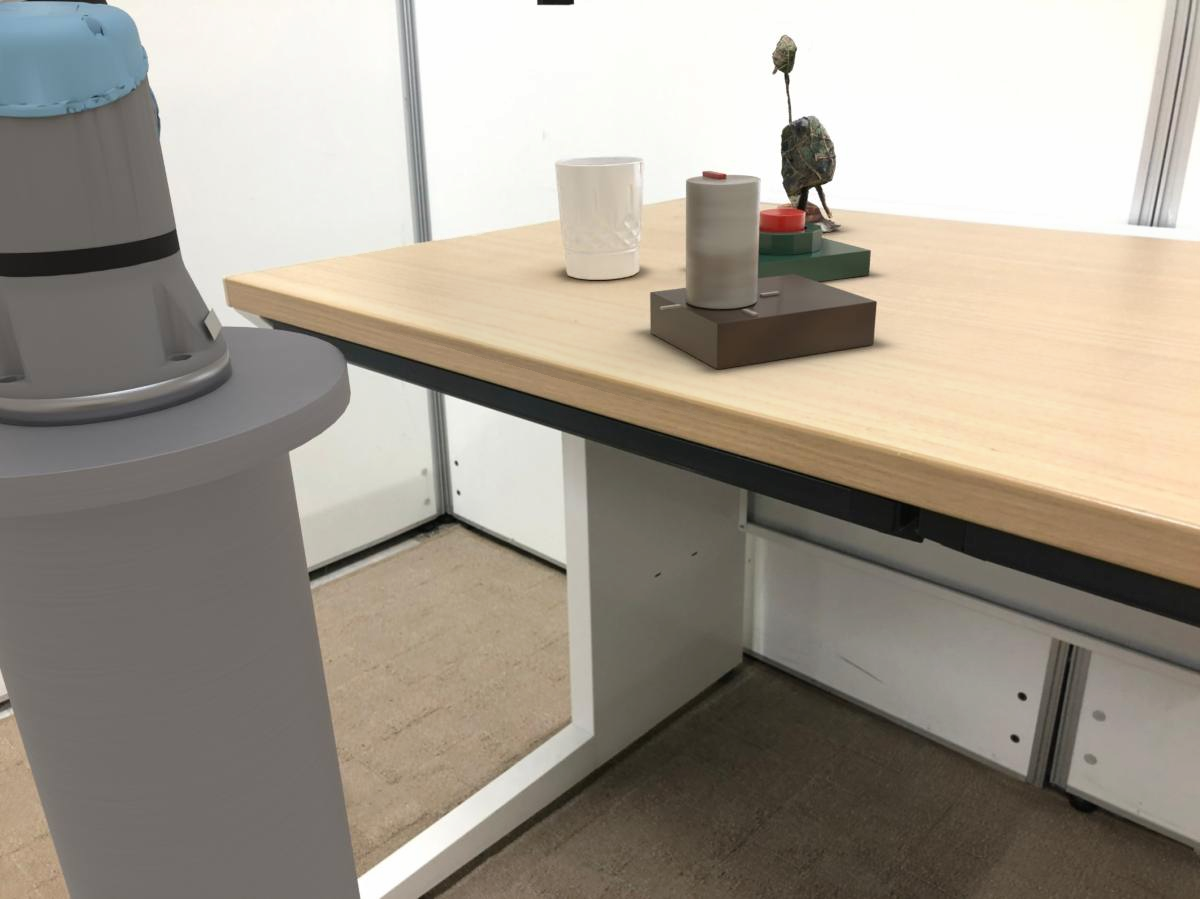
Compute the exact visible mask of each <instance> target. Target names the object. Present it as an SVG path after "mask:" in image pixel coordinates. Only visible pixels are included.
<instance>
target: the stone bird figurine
mask: <svg viewBox="0 0 1200 899" xmlns="http://www.w3.org/2000/svg"><path fill="white" fill-rule="evenodd" d="M797 51H798V47H797V45H796V43H795V41H794V39H792V37H790V36H788V35H787V34H783V35H781V36H780V38H779V41H778V42H776V47H775V49H774V50H773V52H772V54H771V55H772V56H771V59H772V63H773V65H774V68H773V70H772V73H771V74H772V75H774V76H775V75H776V74H777V72H778V71H779V72H781V73H783V75H784V76H783V78H784V84H785V92H786V93H785V94H786V97H787V106H788V107H787V110H788V111H787V112H788V124H787V125H785V126H784V127H783V128H782V130H781V134H780V139H781V141H780V154H781V155H780V156H781V171H780V175H781V177H782V181H781V182H782V183H781V184H782V188H783V189H784V192H785V194H786V196H787V198H788V200H789V202H790V203H789V202H788V203H783V204H781V205H777V207H776V209H798V210H802V211H805V222H806V223H812V224H816V225H820V226H821V228H822V234H823V233H825V232H832V231H835V230H838V228H840V227H841V226H842V225H841V224H839V223H836V222H835V221H832V218H833V216H834V215H833V211H832V210H831V209H830V207H829V206H828V204H827V202H826V200H827V199H826V194H825V192H824V189H823V187H822V186H824V185H827V184H828V183H831V182H832V181H833V179H834V176H835V171H836V167H837V154H836V152H835V144H834V142H833V141H832V139H831V137H830V135H829V133H828V130H827V129H826V128H825V127H824V124H822V122H821V121H820V119H819V118H818V117H816V116H815V115H808V116H805V115H804V116H801V118H798V119H795V120H793V119H792V104H791V102H792V101H791V97H790V96H791V95H790V83H791V80H790V75H789V74H790V73H792V71H793V70H794V66H795V62H796V53H797ZM812 188H814V189H815V191H816V192H817V195H818V198H819V202H821V206H822V207H823V210H824V212H825V214H826V216H827V217H828V218H826V217H825V216H824V215H823V214H822V210H821V209H820V207H819V206H818V205H817V204H814V203H813V202H811V201H809V200H808V199H809V195H810V194H809V193H810V190H812Z"/></svg>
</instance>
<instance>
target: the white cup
mask: <svg viewBox="0 0 1200 899" xmlns="http://www.w3.org/2000/svg"><path fill="white" fill-rule="evenodd" d="M644 164H645V160H644V159H643V157H637V156H628V155H623V156H622V155H599V156H598V155H597V156H582V157H570V158H564V159H559V160H556V161H554V171H555V181H556V182H555V183H556V192H557V204H558V214H559V215H558V216H559V226H560V231H561V242H562V246H563V247H564V249H563V250H564V260H565V271H566V275H567V276H569V277H570V278H571V277H572V278H575V279H580V280H589V281H590V280H592V281H593V280H594V281H595V280H596V281H597V280H598V281H599V280H600V281H602V280H616V279H623V278H629V277H631V276H634V275H636V274H638V273H639V272H640V254H641V253H640V251H641V250H640V249H641V247H640V244H641V241H642V226H643V224H642V223H643V210H644V209H643V207H644V205H643V204H644V167H645V165H644Z"/></svg>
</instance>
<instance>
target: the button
mask: <svg viewBox="0 0 1200 899" xmlns="http://www.w3.org/2000/svg"><path fill="white" fill-rule="evenodd" d="M759 230H761V231H769V232H794V231H802V230H805V211H802V210H798V209H777V208H770V209H763V210H760V222H759Z"/></svg>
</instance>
